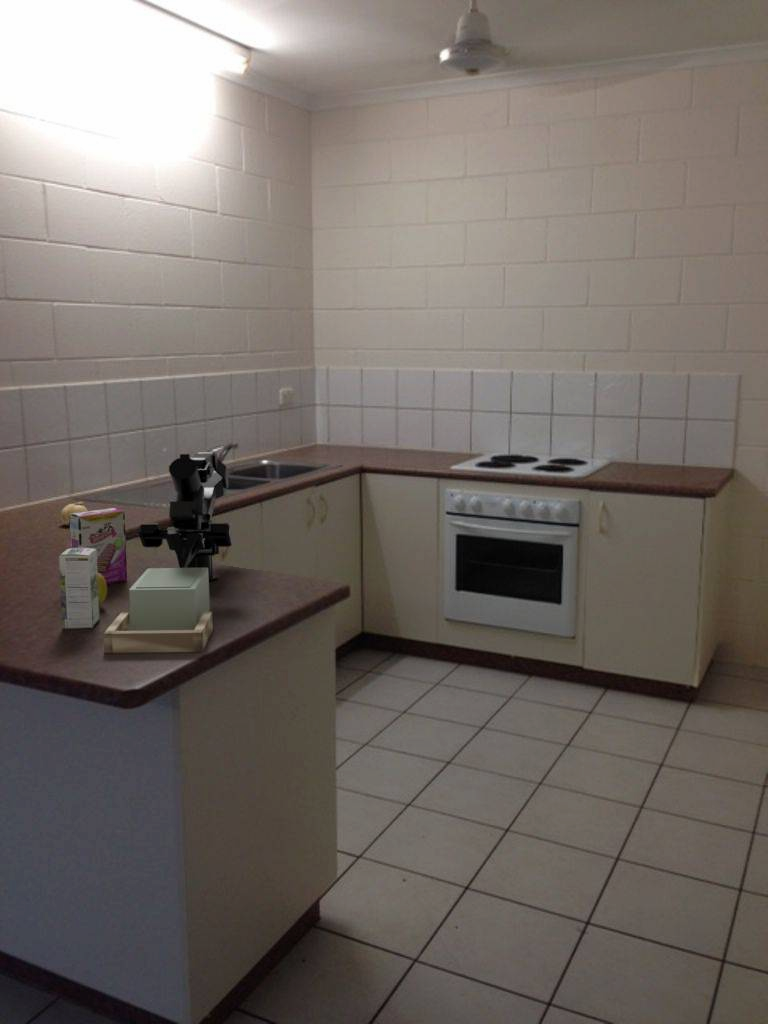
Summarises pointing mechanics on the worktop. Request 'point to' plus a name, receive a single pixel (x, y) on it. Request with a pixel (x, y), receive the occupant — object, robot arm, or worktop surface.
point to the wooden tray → (156, 637)
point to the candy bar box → (102, 540)
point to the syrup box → (79, 588)
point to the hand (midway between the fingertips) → (182, 569)
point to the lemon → (102, 588)
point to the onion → (71, 511)
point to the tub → (169, 599)
